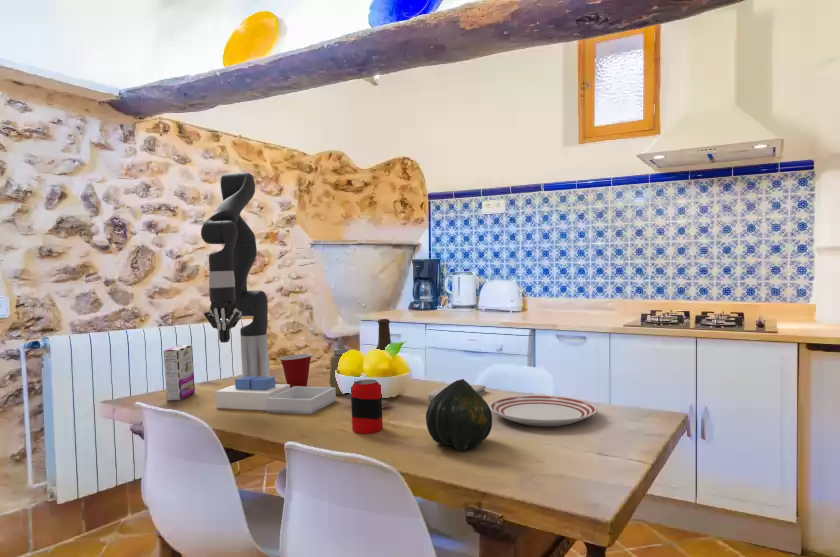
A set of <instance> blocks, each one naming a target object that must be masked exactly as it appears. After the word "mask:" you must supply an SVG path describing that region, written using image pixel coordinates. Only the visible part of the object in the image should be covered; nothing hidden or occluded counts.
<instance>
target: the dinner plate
mask: <svg viewBox="0 0 840 557" xmlns="http://www.w3.org/2000/svg"><path fill="white" fill-rule="evenodd" d="M488 406H489V408H490V410H491V413H492V412H493V413H494V415H495V414H496V415H497V416H498V417H501V418H503V419H506V420H508V421H511V422H513V423H517V424H519V425H526V426H532V427H560V426H567V425H571V424H573V423H577V422H579V421H582V420H584V419H588V418H590V417H592V416H593V415H595V414H596V413H597V412H598V407H597V406H595V405H594V404H592V403H591V402H589V401H586V400H581V399H577V398H573V397H567V396H559V395H558V396H556V395H547V394H546V395H545V394H539V395H538V394H526V395H525V394H524V395H523V394H522V395H514V396H506V397H501V398H498V399H495V400H493V401H491V402H490V403H489V404H488Z"/></svg>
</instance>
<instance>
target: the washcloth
mask: <svg viewBox="0 0 840 557" xmlns="http://www.w3.org/2000/svg"><path fill="white" fill-rule="evenodd" d="M449 385H450V384H444V385H442V387H439V388H436V389H435V390H433V391H430V392H429V394H428V396H427V397H428V401H430V402H431V401H432V400H433V399H434V397H435V396H436V395H437V394H438V393H439V392H440V391H442V390H443V389H444V388H446V387H447V386H449ZM469 385H470V386H471V387H472V388H473V389H474V390H475V391H476V392H477V393H478V394H479V395H480V396H481V395H483V394H485V393H486V392H487V391H486V390H485V389H486V386H485V385H482V384H469Z"/></svg>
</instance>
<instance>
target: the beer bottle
mask: <svg viewBox="0 0 840 557" xmlns="http://www.w3.org/2000/svg"><path fill="white" fill-rule="evenodd" d="M390 323H391V322H390V319H388V318H379V319H378V320H377V324H378V337H377V338H378V339H377V346H376V348H375V349H380V350H385V347H386V346H387V345H388V344H390V343H391V344H392V341H391V333H390V331H391V330H390Z"/></svg>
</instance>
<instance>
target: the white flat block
mask: <svg viewBox="0 0 840 557" xmlns="http://www.w3.org/2000/svg"><path fill="white" fill-rule="evenodd" d="M287 389H290V384H287V383H285V384H284V383H275V387H273V388H270V389H268V390H252V389H250V390H246V389H235V384H233V385H230V386H227V387H223V388H221V389H219V390H216V391H215V406H216V407H215V408H216V409H232V410H249V411H250V410H253V411H267V399H266V398H268V397H271V396H273V395H275V394H278V393H280V392H282V391H285V390H287Z"/></svg>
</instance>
